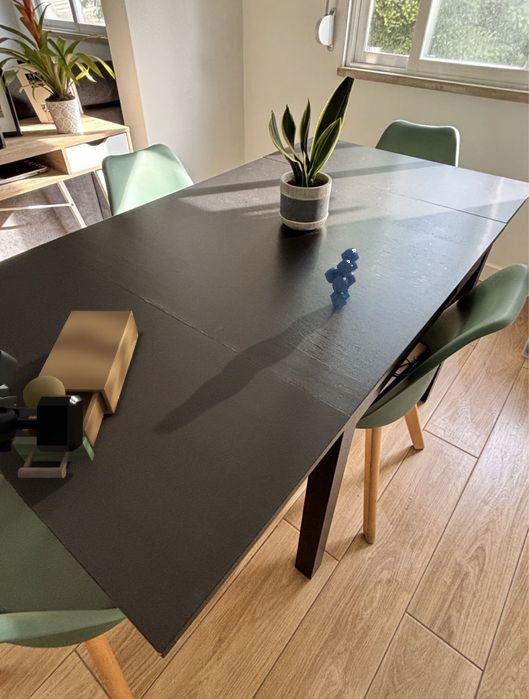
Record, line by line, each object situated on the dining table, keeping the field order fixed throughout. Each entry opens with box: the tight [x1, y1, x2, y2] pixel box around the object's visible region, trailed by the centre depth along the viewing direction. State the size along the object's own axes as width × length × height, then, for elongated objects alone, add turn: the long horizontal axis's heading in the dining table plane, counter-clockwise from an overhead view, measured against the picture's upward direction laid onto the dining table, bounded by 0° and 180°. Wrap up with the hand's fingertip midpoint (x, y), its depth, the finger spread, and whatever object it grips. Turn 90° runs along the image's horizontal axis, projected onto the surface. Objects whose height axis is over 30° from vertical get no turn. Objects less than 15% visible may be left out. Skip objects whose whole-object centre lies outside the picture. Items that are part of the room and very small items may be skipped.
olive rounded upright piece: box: [22, 376, 65, 408], centre depth 61 cm, size 6×6×11 cm
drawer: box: [12, 392, 107, 479], centre depth 66 cm, size 22×10×5 cm, turn 0°
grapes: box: [324, 247, 360, 310], centre depth 88 cm, size 12×7×12 cm, turn 158°
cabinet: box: [37, 310, 139, 415], centre depth 75 cm, size 19×11×6 cm, turn 0°
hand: (36, 413), depth 56 cm, fingers open, 9 cm apart
